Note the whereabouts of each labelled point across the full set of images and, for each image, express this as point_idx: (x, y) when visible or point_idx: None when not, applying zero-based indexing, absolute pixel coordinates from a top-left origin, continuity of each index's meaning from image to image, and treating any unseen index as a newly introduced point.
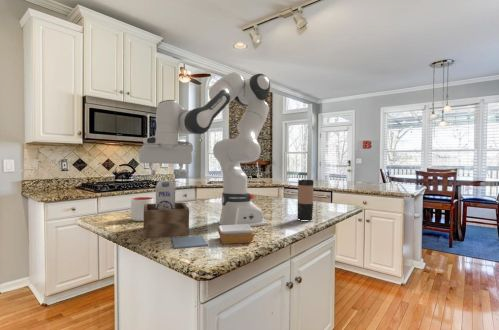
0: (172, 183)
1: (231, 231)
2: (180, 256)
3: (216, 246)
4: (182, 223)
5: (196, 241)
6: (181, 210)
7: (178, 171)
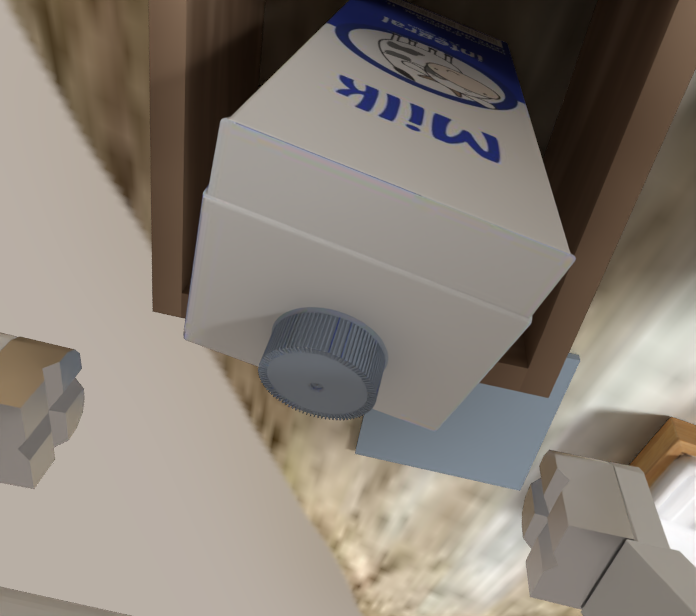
0: (465, 327)
1: None
2: (352, 525)
3: None
4: None
5: (490, 433)
6: None
7: (579, 598)
